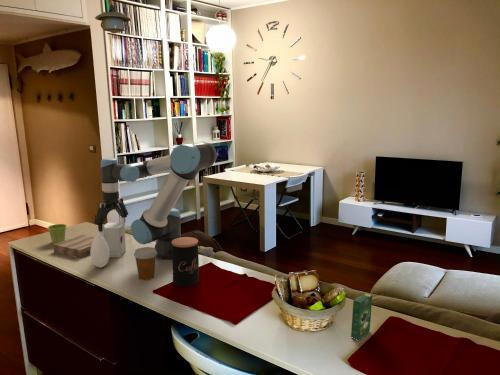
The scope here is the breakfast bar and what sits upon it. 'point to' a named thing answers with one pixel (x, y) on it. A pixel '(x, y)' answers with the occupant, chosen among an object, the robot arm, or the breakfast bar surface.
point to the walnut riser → (75, 246)
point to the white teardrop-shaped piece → (99, 251)
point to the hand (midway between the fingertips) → (112, 233)
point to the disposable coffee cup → (145, 262)
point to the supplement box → (115, 239)
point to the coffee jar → (185, 261)
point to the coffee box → (361, 316)
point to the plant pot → (57, 232)
